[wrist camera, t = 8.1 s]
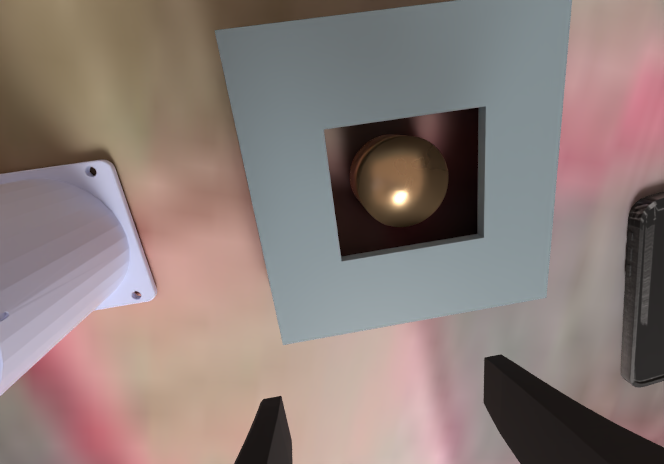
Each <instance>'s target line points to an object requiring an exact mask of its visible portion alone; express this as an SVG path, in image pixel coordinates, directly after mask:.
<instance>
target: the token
mask: <svg viewBox="0 0 664 464" xmlns="http://www.w3.org/2000/svg"><path fill="white" fill-rule="evenodd" d="M350 184H351V188H352V191H353V193H354V195H355V196H356V198H357V199H358V200H359V202H360V203H361V204H362V205H363V206H364V208H365V209H366V210H367V211H368V212H369V214H370V215H371V216H372V217H373V218H375V219H376V220H377V221H379V222H381V223H383V224H385V225H388V226H392V227H408V226H412V225H415V224H418V223H420V222H422V221H424V220H425V219H427V218H428V217H429V216H431V215H432V214H433V213H434V212H435V211H436V210H437V208H438V207H439V206H440V204H441V203H442V201H443V199H444V197H445V194H446V191H447V187H448V169H447V165H446V162H445V159H444V157H443V156H442V154H441V153H440V151H439V150H438V149H437V148H436V147H435V146H434V145H433V144H431V143H430V142H428V141H426V140H425V139H422V138H419V137H414V136H404V135H393V134H388V135H381V136H378V137H375V138H373V139H371V140H370V141H368V142H367V143H365V144H364V145H363V146H362V147H361V148H360V149H359V151H358V152H357V154H356V155H355V157H354V159H353V161H352V164H351V169H350Z"/></svg>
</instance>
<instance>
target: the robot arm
mask: <svg viewBox="0 0 664 464" xmlns="http://www.w3.org/2000/svg"><path fill="white" fill-rule="evenodd" d="M90 167H93V168H95V170H96V172H97V174H96V176H94V175H92V174H91V172H90ZM135 291H138V292H139V293H140V294H141V296H137V295H136V294H135ZM156 294H157V289H156V286H155V283H154V280H153V277H152V274H151V271H150V268H149V265H148V262H147V259H146V257H145V254H144V251H143V248H142V245H141V242H140V239H139V236H138V233H137V230H136V227H135V225H134V222H133V219H132V216H131V213H130V210H129V207H128V204H127V201H126V198H125V195H124V193H123V190H122V187H121V184H120V181H119V178H118V175H117V172H116V169H115V167H114V165H113V164H112V163H111V162H110V161H107V160H95V161H88V162H81V163H74V164H67V165H60V166H53V167H46V168H39V169H32V170H25V171H18V172H11V173H4V174H0V396H1V395H2V394H3V393H4V392H5V391H6V390H7V389H8V388H9V387H10V386H12V385H13V384H14V383H15V382H16V381H17V380H18V379H19V378H20V377H21V376H22V375H24V374H25V373H26V372H27V371H28V370H29V369H30V368H31V367H32V366H33V365H34V364H36V363H37V362H38V361H39V360H40V359H41V358H42V357H43V356H44V355H45V354H46V353H48V352H49V351H50V350H51V349H52V348H53V347H54V346H55V345H56V344H57V343H58V342H60V341H61V340H62V339H63V338H64V337H65V336H66V335H67V334H68V333H69V332H70V331H72V330H73V329H74V328H75V327H76V326H77V325H78V324H79V323H80V322H81V321H82V320H84V319H85V318H86V317H87V316H88V315H89V314H90V313H91V312H92V311H93V310H99V309H105V308H111V307H117V306H123V305H129V304H135V303H141V302H147V301H151V300H152V299H153V298H154V297H155V296H156ZM484 404H485V406H486V408H487V410H488V412H489V414H490V416H491V418H492V420H493V422H494V423H495V425H496V427H497V429H498V431H499V432H500V434H501V436H502V437H503V439H504V440H505V442H506V443H507V445H508V446H509V448H510V449H511V450H512V452H513V453H514V455H515V456H516V458H517V459H518V461H519V462H520V464H664V447H662V446H660V445H657V444H655V443H653V442H651V441H649V440H647V439H645V438H643V437H641V436H639V435H637V434H635V433H633V432H631V431H629V430H627V429H625V428H623V427H621V426H619V425H617V424H615V423H613V422H612V421H610V420H608V419H606V418H604V417H602V416H601V415H599V414H597V413H595V412H594V411H592V410H590V409H588V408H586V407H585V406H583V405H581V404H580V403H578V402H576V401H574V400H573V399H571V398H569V397H568V396H566V395H564V394H563V393H561V392H560V391H558V390H556V389H555V388H553V387H551V386H550V385H548V384H547V383H545V382H544V381H542V380H540V379H539V378H537V377H536V376H534V375H533V374H531V373H529V372H528V371H526V370H525V369H523V368H522V367H520V366H519V365H517V364H516V363H514V362H512V361H511V360H509V359H508V358H506V357H504V356H503V355H496V356H490V357H485V360H484ZM234 464H292V440H291V436H290V431H289V427H288V423H287V419H286V414H285V410H284V406H283V401H282V397H281V396H278V397H273V398H267V399H263V400H262V402H261V403H260V406H259V409H258V411H257V414H256V416H255V419H254V421H253V424H252V426H251V428H250V431H249V433H248V435H247V438H246V440H245V442H244V444H243V446H242V448H241V450H240V452H239V455H238V457H237V459H236V461H235V463H234Z"/></svg>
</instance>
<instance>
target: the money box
mask: <svg viewBox="0 0 664 464" xmlns="http://www.w3.org/2000/svg"><path fill="white" fill-rule="evenodd" d="M571 5H572V0H456V1H448V2H440V3H432V4H424V5H416V6H407V7H399V8H391V9H383V10H375V11H367V12H359V13H351V14H343V15H335V16H327V17H318V18H310V19H302V20H294V21H286V22H278V23H270V24H262V25H254V26H246V27H238V28H230V29H221V30H215V35H216V39H217V44H218V49H219V53H220V58H221V62H222V67H223V72H224V76H225V81H226V85H227V90H228V94H229V99H230V104H231V108H232V113H233V117H234V122H235V127H236V131H237V136H238V140H239V145H240V150H241V154H242V159H243V163H244V168H245V172H246V177H247V182H248V186H249V191H250V195H251V200H252V205H253V209H254V214H255V218H256V223H257V228H258V232H259V237H260V241H261V246H262V250H263V255H264V260H265V264H266V269H267V273H268V278H269V283H270V287H271V292H272V296H273V301H274V306H275V310H276V315H277V319H278V324H279V328H280V333H281V338H282V342H283V345H286V344H291V343H297V342H303V341H308V340H314V339H319V338H325V337H330V336H336V335H342V334H347V333H353V332H358V331H364V330H369V329H375V328H381V327H386V326H392V325H397V324H403V323H408V322H414V321H419V320H425V319H431V318H436V317H442V316H447V315H453V314H458V313H464V312H470V311H475V310H481V309H486V308H492V307H497V306H503V305H509V304H514V303H520V302H525V301H531V300H536V299H542V298H546V296H547V284H548V273H549V261H550V249H551V238H552V226H553V215H554V203H555V191H556V180H557V168H558V156H559V145H560V133H561V122H562V110H563V98H564V87H565V75H566V63H567V52H568V40H569V29H570V17H571ZM477 107H479V115H478V228H477V234H474V235H468V236H462V237H456V238H450V239H444V240H438V241H432V242H426V243H419V244H413V245H407V246H401V247H395V248H389V249H383V250H377V251H371V252H365V253H359V254H353V255H347V256H341V254H340V247H339V239H338V232H337V224H336V217H335V210H334V202H333V195H332V188H331V180H330V173H329V166H328V158H327V151H326V144H325V136H324V129H331V128H338V127H345V126H352V125H359V124H366V123H373V122H380V121H387V120H394V119H401V118H408V117H415V116H422V115H429V114H435V113H442V112H449V111H456V110H463V109H470V108H477Z"/></svg>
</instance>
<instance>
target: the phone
mask: <svg viewBox="0 0 664 464" xmlns="http://www.w3.org/2000/svg"><path fill="white" fill-rule="evenodd" d="M621 376H622V377H623V378H624V379H625V380H626V381H628V382H629V383H630V384H632V385H633V386H635V387H645V386H648V385H651V384H655V383H658V382H661V381H664V192H661V193H658V194H654V195H651V196H647V197H645V198H642V199H641V200H639V201H638V202H637V203H636V204H635V205H634V206H633V207H632V209H631V211H630V213H629V217H628V234H627V254H626V274H625V294H624V314H623V334H622V354H621Z"/></svg>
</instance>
